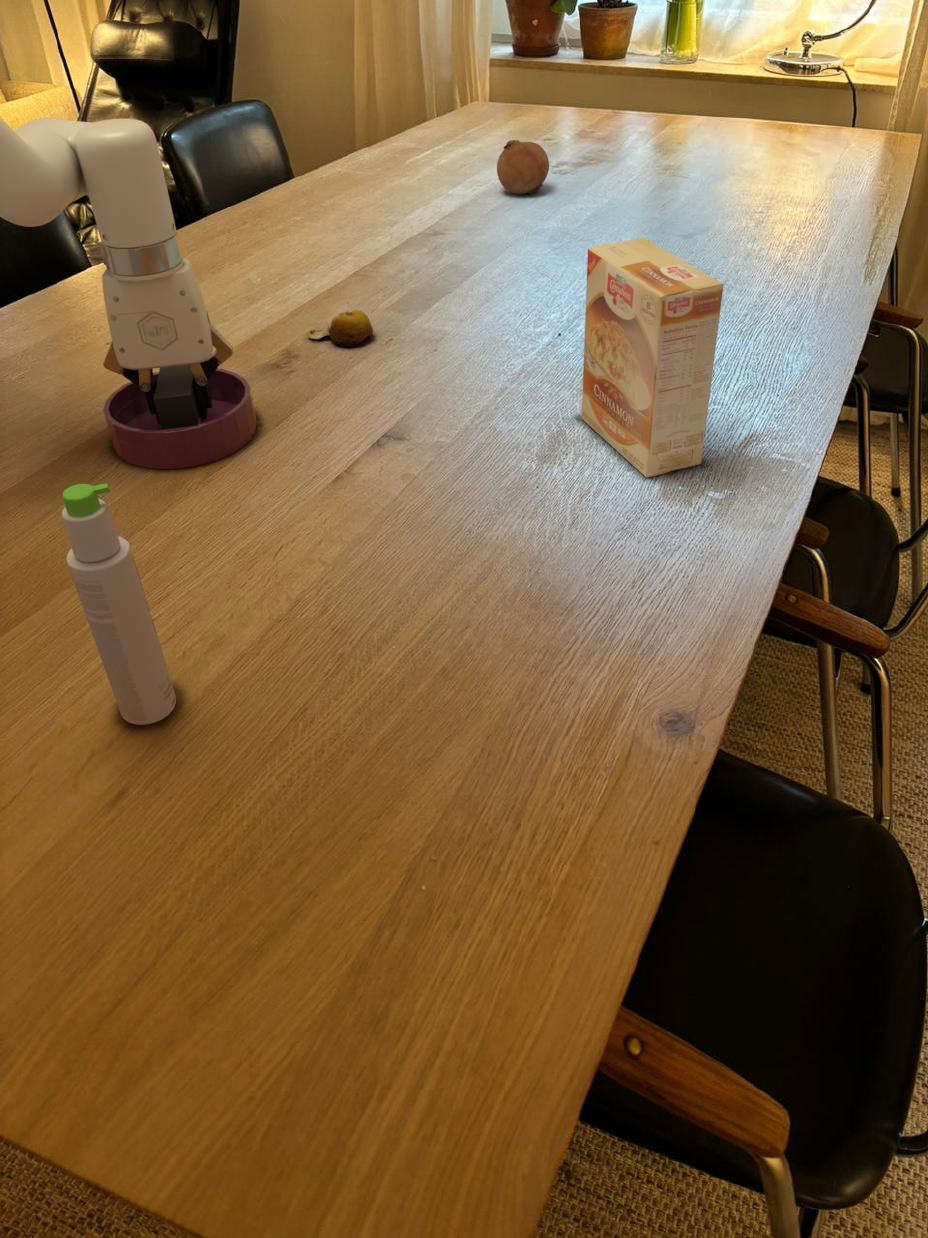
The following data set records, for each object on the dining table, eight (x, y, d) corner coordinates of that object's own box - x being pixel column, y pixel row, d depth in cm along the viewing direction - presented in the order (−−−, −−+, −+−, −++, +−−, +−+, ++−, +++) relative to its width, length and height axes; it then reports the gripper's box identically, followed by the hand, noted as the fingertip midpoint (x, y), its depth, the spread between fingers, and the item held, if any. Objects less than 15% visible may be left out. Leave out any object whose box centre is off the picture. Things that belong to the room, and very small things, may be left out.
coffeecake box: (578, 418, 114) (585, 246, 101) (633, 405, 116) (646, 235, 103) (644, 479, 103) (660, 294, 91) (703, 464, 105) (727, 281, 92)
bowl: (105, 476, 108) (94, 439, 105) (122, 408, 120) (112, 374, 117) (256, 460, 109) (248, 423, 106) (257, 395, 122) (251, 360, 119)
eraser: (164, 439, 110) (153, 398, 107) (169, 407, 116) (159, 367, 113) (200, 435, 111) (190, 394, 107) (204, 403, 117) (195, 363, 114)
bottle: (172, 723, 77) (104, 506, 65) (115, 728, 77) (36, 511, 65) (180, 685, 81) (117, 472, 68) (126, 689, 81) (52, 476, 68)
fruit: (353, 319, 139) (350, 293, 136) (389, 336, 134) (387, 309, 131) (304, 337, 135) (300, 310, 132) (339, 355, 130) (336, 328, 127)
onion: (502, 210, 184) (477, 158, 180) (536, 184, 187) (512, 133, 183) (533, 201, 177) (507, 147, 172) (568, 175, 180) (544, 120, 175)
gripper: (53, 275, 98) (104, 440, 110) (224, 258, 100) (257, 423, 111) (65, 250, 104) (112, 409, 115) (227, 235, 105) (257, 393, 117)
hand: (183, 414), depth 113 cm, fingers closed on eraser, 4 cm apart
